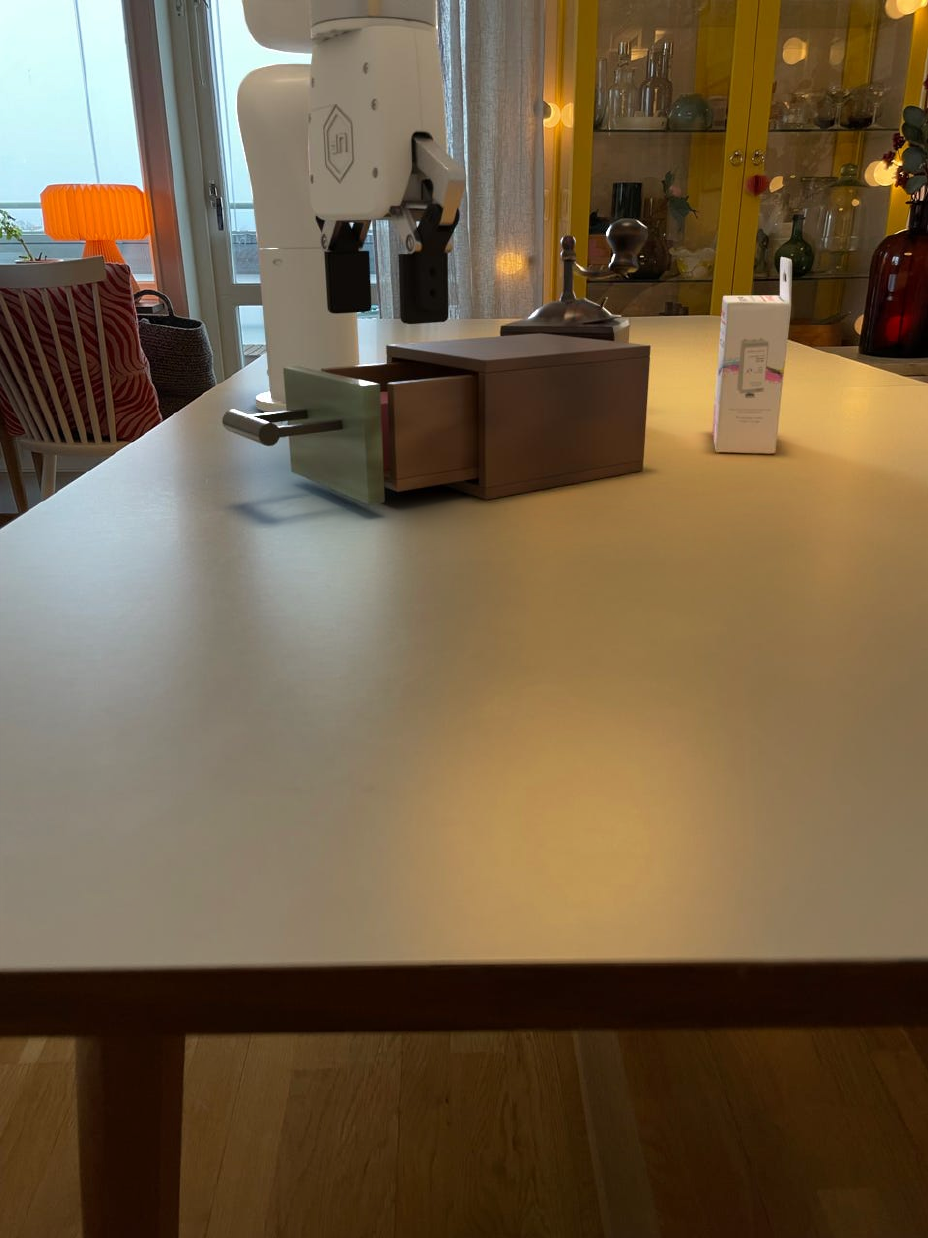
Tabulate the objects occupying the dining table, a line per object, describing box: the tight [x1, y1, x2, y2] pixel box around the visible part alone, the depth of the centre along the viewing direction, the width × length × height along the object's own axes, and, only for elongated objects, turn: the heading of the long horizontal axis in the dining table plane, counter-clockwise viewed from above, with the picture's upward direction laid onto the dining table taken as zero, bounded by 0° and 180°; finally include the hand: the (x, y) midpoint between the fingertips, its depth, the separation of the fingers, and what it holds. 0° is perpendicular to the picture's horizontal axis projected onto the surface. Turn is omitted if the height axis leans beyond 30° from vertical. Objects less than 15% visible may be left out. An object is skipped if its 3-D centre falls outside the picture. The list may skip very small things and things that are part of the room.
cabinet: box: [385, 333, 651, 501], centre depth 70 cm, size 15×13×9 cm
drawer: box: [222, 361, 479, 505], centre depth 63 cm, size 19×11×7 cm, turn 124°
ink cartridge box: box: [711, 256, 793, 455], centre depth 76 cm, size 9×5×15 cm, turn 168°
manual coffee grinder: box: [499, 217, 649, 343], centre depth 87 cm, size 16×11×18 cm
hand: (385, 316), depth 62 cm, fingers open, 9 cm apart
